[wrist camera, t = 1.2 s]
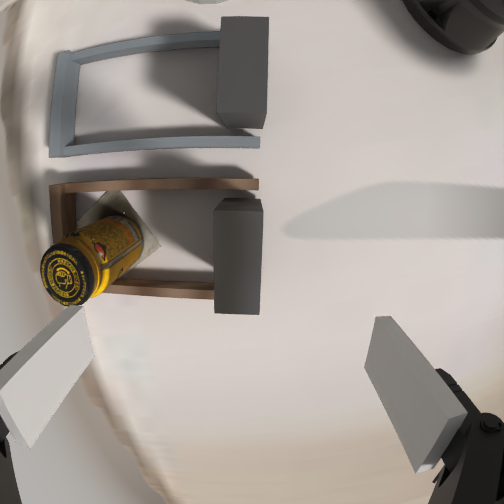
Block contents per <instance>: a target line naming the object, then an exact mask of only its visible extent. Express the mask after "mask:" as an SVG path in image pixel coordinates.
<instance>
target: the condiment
mask: <svg viewBox="0 0 504 504" xmlns="http://www.w3.org/2000/svg"><path fill="white" fill-rule="evenodd" d="M124 213H125V214H124ZM76 227H77V228H78V229H77V230H75V231H72V232H70V233H68V234H66V235H65V236H64V237H62V238H61V240H60V241H59V242H58V243H57V244H55V245H52V246H51V247H50V248H49V249H48V250H47V251H46V252H45V254H44V255H43V257H42V260H41V267H40V272H41V278H42V281H43V284H44V286H45V288H46V290H47V292H48V293H49V294H50V295H51V297H52V298H53V299H54V300H56V301H57V302H59V303H60V304H62V305H64V306H70V305H76V306H78V305H82V304H84V303H85V302H86V301H87V300H88V299H89V298H93V297H95V296H97V295H99V294H101V293H102V292H103V291H104V290H106V289H107V288H108V287H109V286H110V285H111V284H112V283H113V282H114V281H115V280H116V279H117V278H119V279H121V278H122V277H123V276H124V275H126V274H127V273H128V272H129V271H130V270H132V269H133V268H134V267H135V266H137V265H138V264H139V263H140V262H142V261H143V260H144V259H145V258H147V257H148V256H149V255H150V254H152V253H153V252H154V251H156V250H157V249H158V248H159V247H161V245H160V244H159V242H158V241H157V240H156V238H155V237H154V236H153V234H152V233H151V231H150V230H149V229H148V227H147V226H146V225H145V223H144V222H143V221H142V219H141V218H140V217H139V215H138V214H137V213H136V212H135V210H134V209H133V208H132V206H131V205H130V203H129V202H128V200H127V199H126V198H125V196H124V195H123V194H122V193H121V191H120V190H117V191H107V192H106V193H105V194H104V195H103V196H102V197H101V198H100V199H99V200H98V201H97V202H96V203H95V204H94V205H93V206H92V208H90V209H89V210H88V211H87V212H86V213H85V214H84V215H83V216H82V217H81V218H80V219H79V220H78V221H77V222H76Z"/></svg>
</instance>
